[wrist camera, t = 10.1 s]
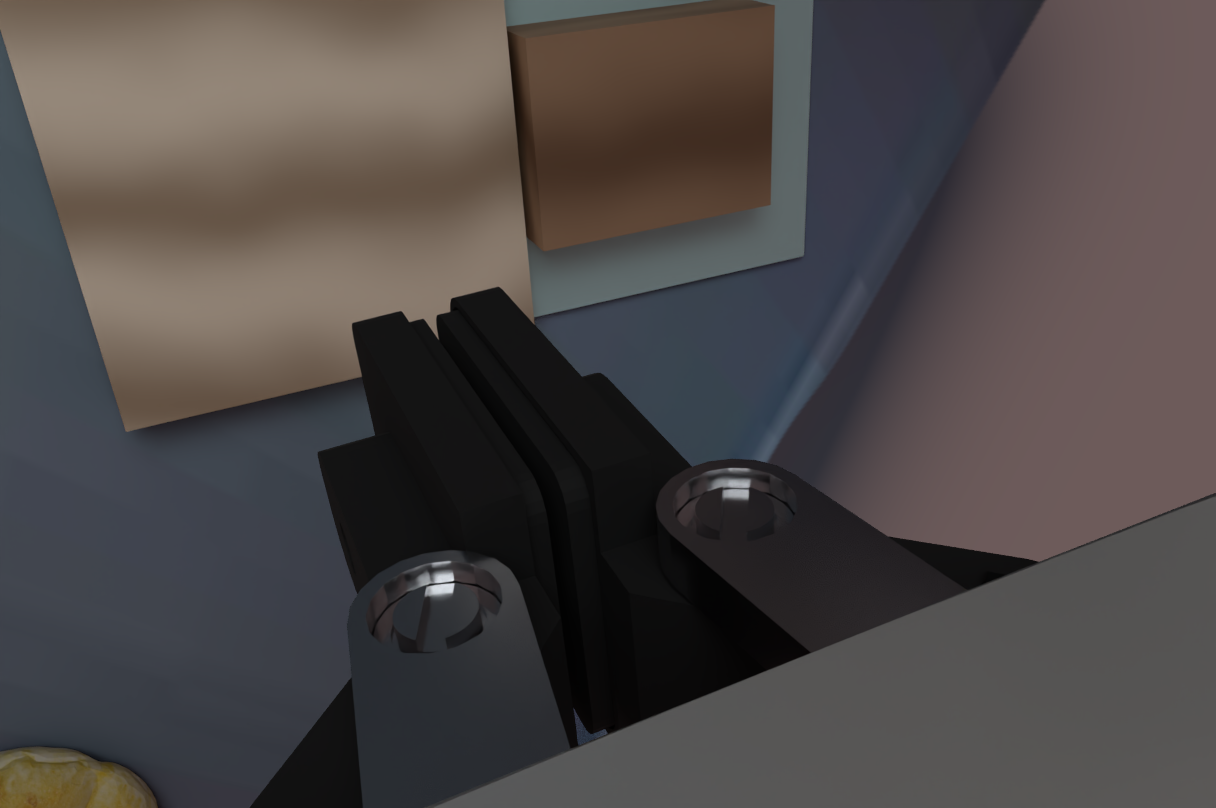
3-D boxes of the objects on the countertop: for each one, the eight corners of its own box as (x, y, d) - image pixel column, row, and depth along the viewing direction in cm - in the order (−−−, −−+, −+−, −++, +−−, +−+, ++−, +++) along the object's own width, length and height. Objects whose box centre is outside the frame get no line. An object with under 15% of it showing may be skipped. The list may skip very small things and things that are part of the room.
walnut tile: (499, 27, 35) (525, 38, 33) (737, -3, 38) (775, 5, 36) (518, 230, 39) (543, 251, 37) (736, 187, 42) (770, 205, 40)
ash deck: (-17, -46, 29) (-21, -39, 27) (475, -90, 34) (495, -87, 32) (123, 405, 36) (125, 431, 34) (517, 316, 41) (535, 335, 39)
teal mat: (490, -91, 34) (494, -91, 34) (811, -120, 38) (817, -120, 38) (529, 313, 41) (533, 317, 40) (798, 252, 45) (803, 255, 44)
